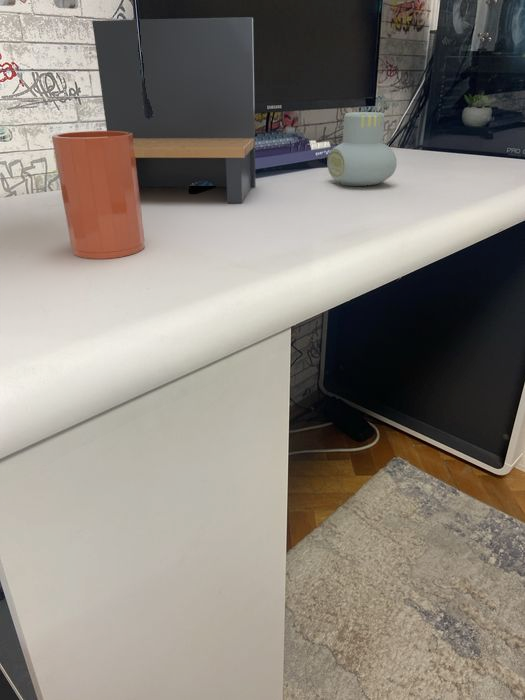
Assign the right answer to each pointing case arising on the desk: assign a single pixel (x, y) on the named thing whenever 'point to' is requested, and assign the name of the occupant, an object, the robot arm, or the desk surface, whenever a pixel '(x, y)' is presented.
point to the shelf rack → (183, 99)
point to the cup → (100, 192)
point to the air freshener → (362, 151)
